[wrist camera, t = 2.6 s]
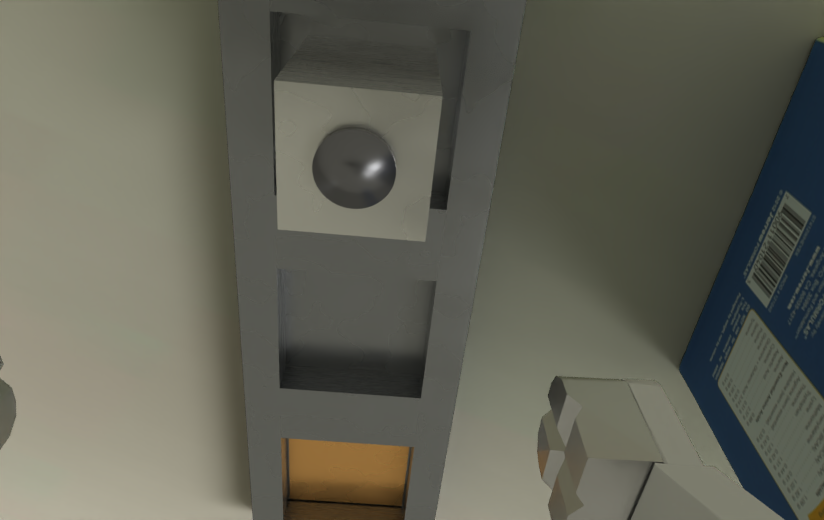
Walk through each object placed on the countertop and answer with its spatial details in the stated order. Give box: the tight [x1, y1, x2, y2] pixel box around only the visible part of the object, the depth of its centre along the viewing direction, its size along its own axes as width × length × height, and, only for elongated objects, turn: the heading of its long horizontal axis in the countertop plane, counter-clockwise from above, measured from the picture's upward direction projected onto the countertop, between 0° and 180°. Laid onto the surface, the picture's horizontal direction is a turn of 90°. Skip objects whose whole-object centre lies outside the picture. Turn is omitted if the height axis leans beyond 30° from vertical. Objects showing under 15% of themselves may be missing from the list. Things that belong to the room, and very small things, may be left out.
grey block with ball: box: [274, 36, 443, 242], centre depth 18 cm, size 4×4×6 cm
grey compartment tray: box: [218, 0, 527, 520], centre depth 25 cm, size 9×30×2 cm, turn 175°
